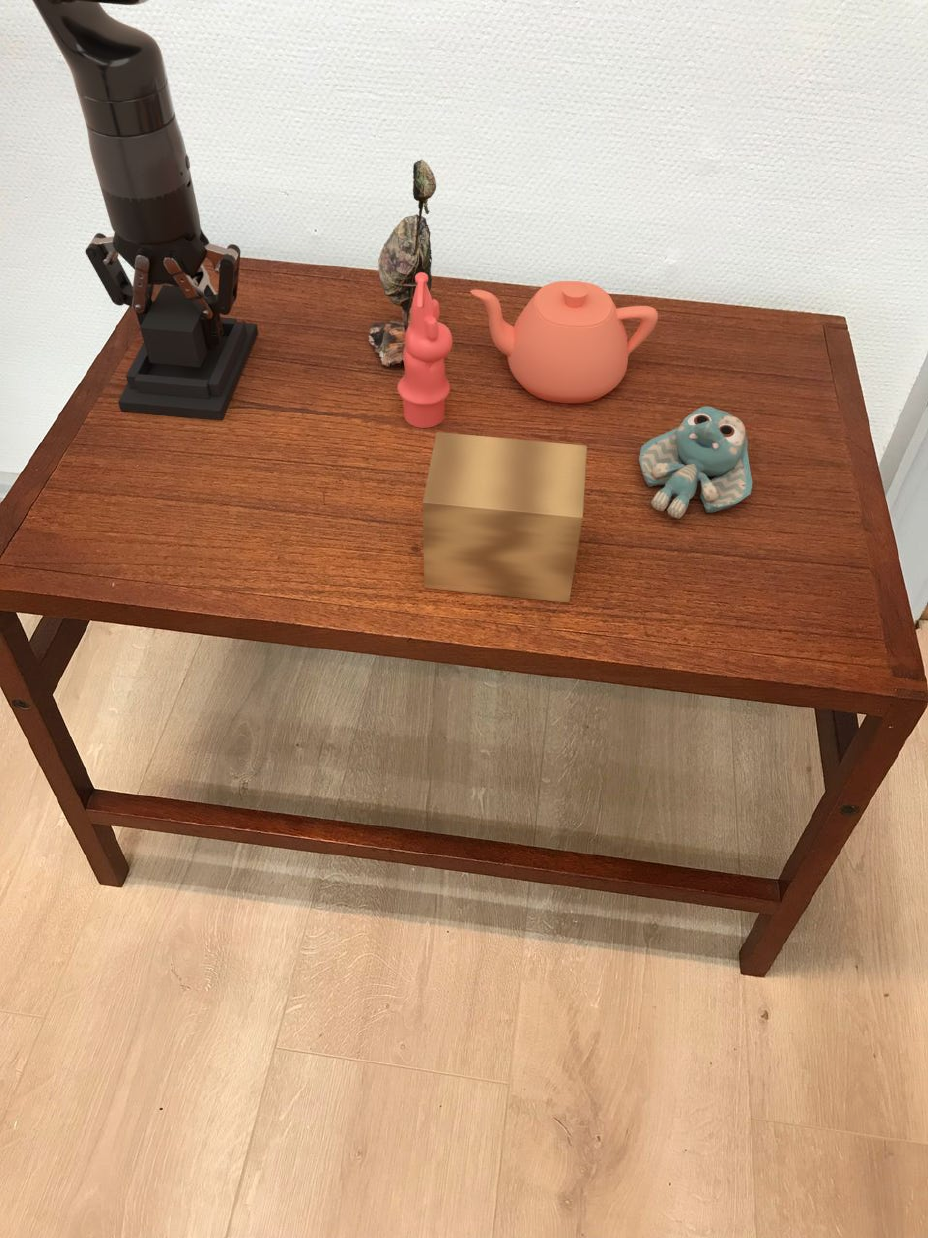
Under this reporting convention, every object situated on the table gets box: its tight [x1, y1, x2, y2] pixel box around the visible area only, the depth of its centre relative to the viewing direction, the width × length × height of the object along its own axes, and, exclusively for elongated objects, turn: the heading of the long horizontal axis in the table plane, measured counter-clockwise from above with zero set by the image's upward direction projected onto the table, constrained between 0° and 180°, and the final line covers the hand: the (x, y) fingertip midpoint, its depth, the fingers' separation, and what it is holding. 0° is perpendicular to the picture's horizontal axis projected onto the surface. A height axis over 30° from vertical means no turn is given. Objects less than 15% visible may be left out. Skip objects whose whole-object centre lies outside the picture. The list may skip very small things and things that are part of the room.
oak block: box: [421, 431, 588, 603], centre depth 79 cm, size 12×8×10 cm, turn 83°
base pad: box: [117, 316, 259, 421], centre depth 97 cm, size 14×10×3 cm
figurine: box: [397, 272, 454, 429], centre depth 88 cm, size 5×5×15 cm
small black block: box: [139, 284, 208, 367], centre depth 94 cm, size 7×5×4 cm
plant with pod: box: [368, 159, 437, 367], centre depth 94 cm, size 8×11×20 cm
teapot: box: [470, 280, 659, 404], centre depth 95 cm, size 12×18×10 cm
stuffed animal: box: [638, 406, 753, 520], centre depth 86 cm, size 11×7×12 cm
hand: (185, 341), depth 95 cm, fingers closed on small black block, 5 cm apart
